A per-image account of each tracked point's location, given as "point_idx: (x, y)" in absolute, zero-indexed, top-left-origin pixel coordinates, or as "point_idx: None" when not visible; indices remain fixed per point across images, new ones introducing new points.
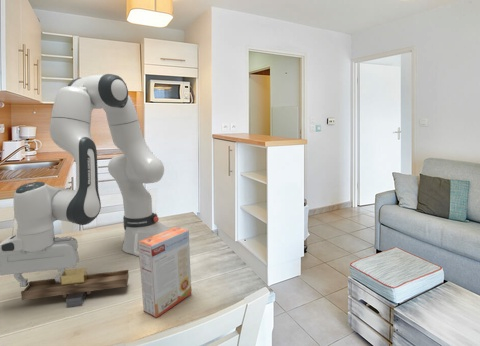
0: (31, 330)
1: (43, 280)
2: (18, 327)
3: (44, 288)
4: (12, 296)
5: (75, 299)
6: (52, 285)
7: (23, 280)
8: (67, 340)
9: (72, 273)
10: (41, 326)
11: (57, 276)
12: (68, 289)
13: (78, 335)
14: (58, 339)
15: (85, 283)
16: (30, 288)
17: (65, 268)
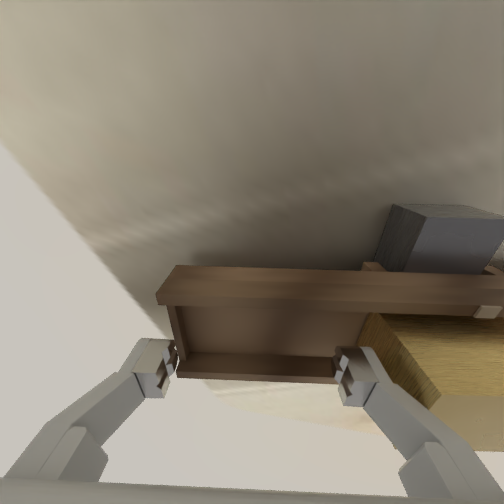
0: (268, 395)
1: (245, 306)
2: (232, 381)
3: (279, 378)
4: (97, 218)
5: None
6: (299, 312)
7: (142, 387)
8: (347, 427)
9: (478, 437)
10: (287, 390)
11: (360, 394)
12: None
13: (368, 423)
14: (330, 423)
15: None
16: (190, 310)
17: (468, 449)
